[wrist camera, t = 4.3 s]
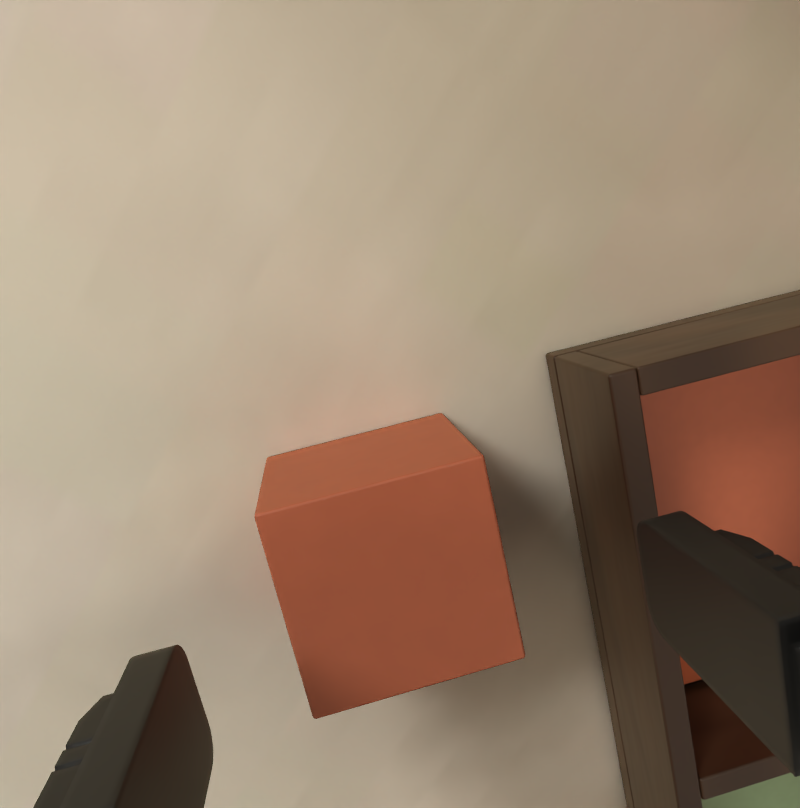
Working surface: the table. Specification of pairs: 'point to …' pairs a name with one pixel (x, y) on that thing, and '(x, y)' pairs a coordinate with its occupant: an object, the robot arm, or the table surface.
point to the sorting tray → (697, 496)
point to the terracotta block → (387, 562)
